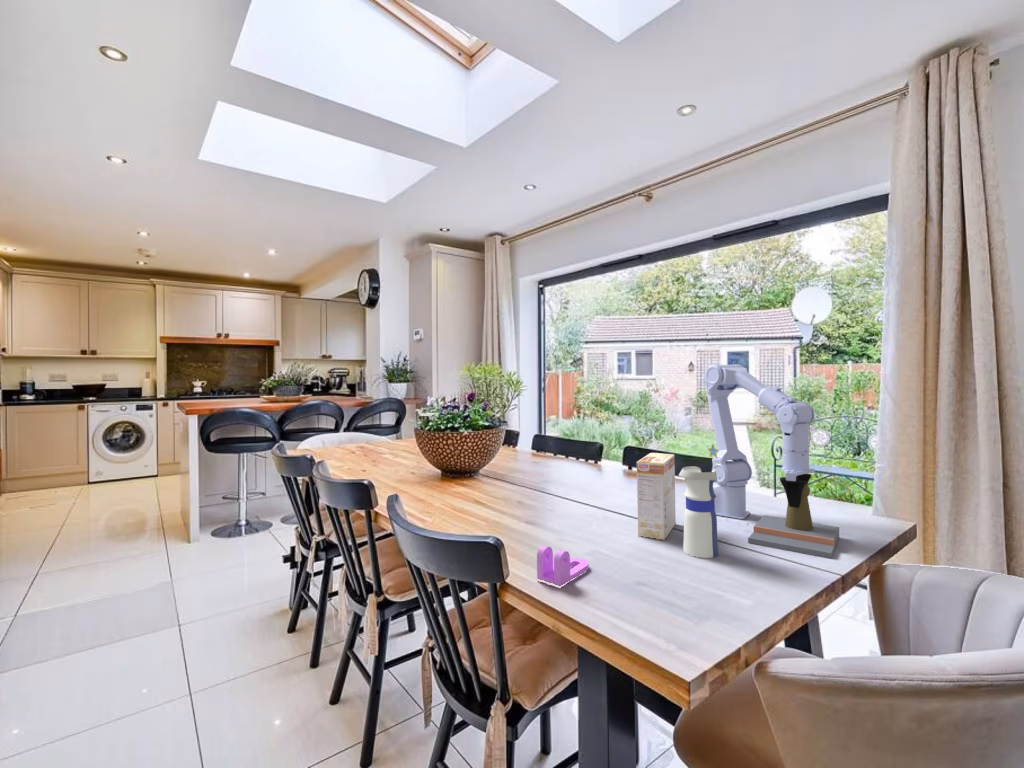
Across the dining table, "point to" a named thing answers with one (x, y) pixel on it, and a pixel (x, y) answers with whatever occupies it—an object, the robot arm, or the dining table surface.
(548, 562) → the bracket
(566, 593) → the dining table surface
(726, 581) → the dining table surface
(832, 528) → the stepped stand
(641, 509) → the coffeecake box
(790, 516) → the cork
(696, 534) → the white spray bottle
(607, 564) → the dining table surface
